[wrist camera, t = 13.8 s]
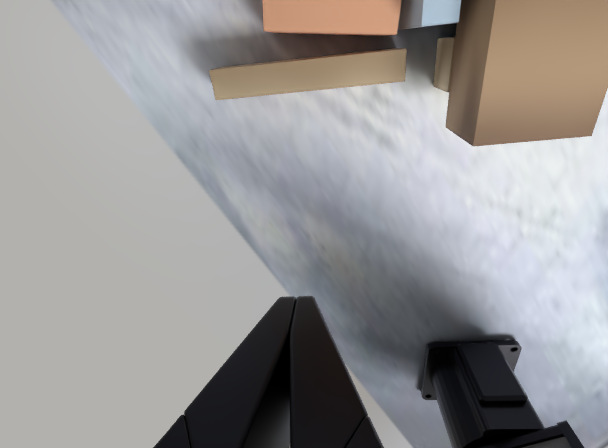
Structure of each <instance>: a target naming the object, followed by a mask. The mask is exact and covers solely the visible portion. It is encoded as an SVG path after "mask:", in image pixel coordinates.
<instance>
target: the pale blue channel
mask: <svg viewBox="0 0 608 448" xmlns="http://www.w3.org/2000/svg"><path fill="white" fill-rule="evenodd" d="M460 6H461V0H402V2H401V9H400V16H399V23H398V29H397V30H401V29H410V28H419V27H427V26H436V25H445V24H454V23H457V22H459V15H460Z"/></svg>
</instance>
